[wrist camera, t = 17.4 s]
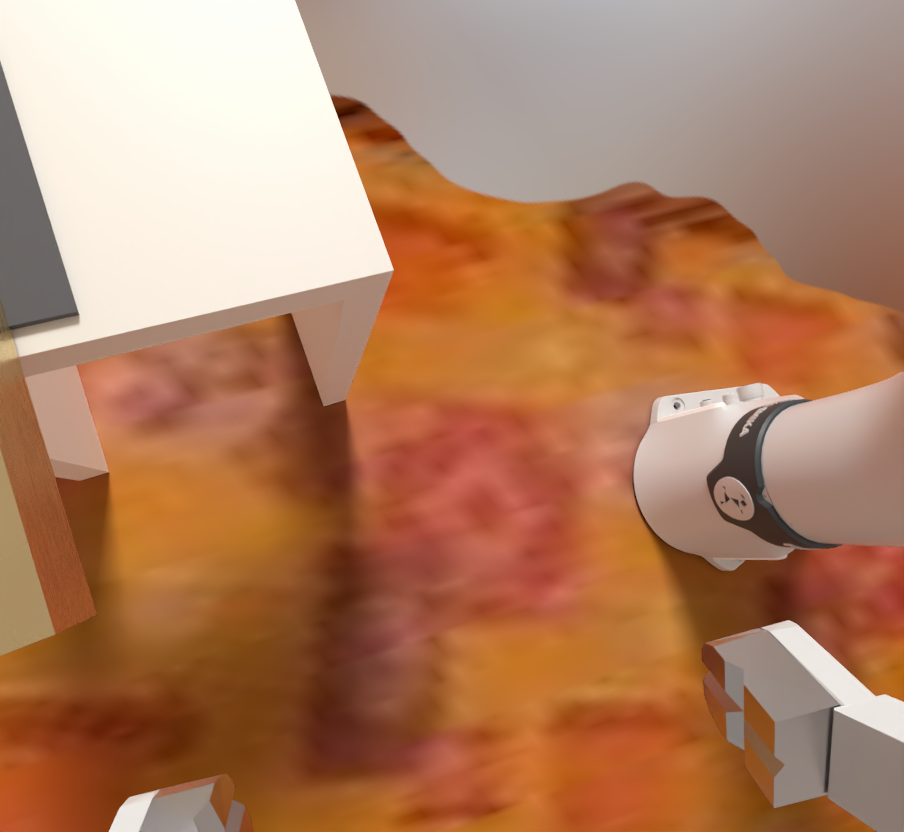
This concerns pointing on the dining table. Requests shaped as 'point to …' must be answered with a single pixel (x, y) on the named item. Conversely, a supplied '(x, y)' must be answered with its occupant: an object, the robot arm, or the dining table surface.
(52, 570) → the light wood bar
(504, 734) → the dining table surface
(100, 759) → the dining table surface
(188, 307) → the white upright block
